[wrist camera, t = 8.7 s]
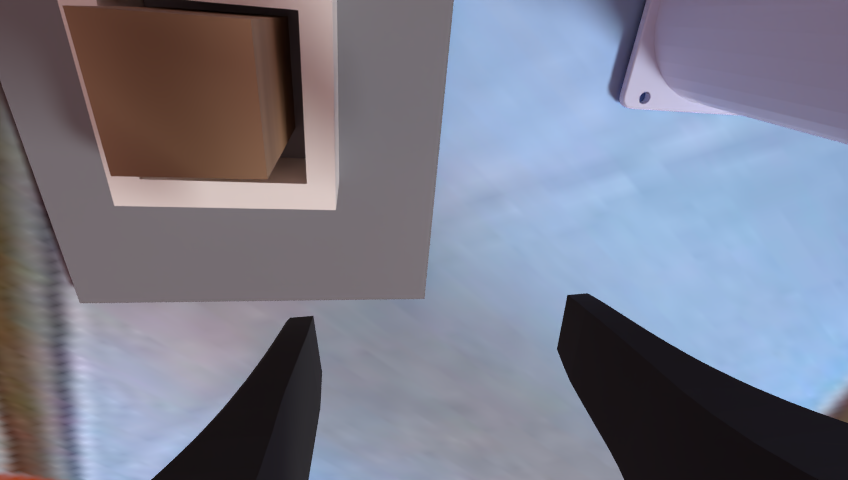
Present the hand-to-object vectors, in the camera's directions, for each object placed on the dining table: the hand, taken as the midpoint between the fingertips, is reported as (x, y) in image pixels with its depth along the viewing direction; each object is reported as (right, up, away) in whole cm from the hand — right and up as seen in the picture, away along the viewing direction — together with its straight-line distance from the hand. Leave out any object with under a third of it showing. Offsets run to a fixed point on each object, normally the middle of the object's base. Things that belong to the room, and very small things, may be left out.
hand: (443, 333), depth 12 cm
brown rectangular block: (-8, +9, +4) cm, 12 cm away
